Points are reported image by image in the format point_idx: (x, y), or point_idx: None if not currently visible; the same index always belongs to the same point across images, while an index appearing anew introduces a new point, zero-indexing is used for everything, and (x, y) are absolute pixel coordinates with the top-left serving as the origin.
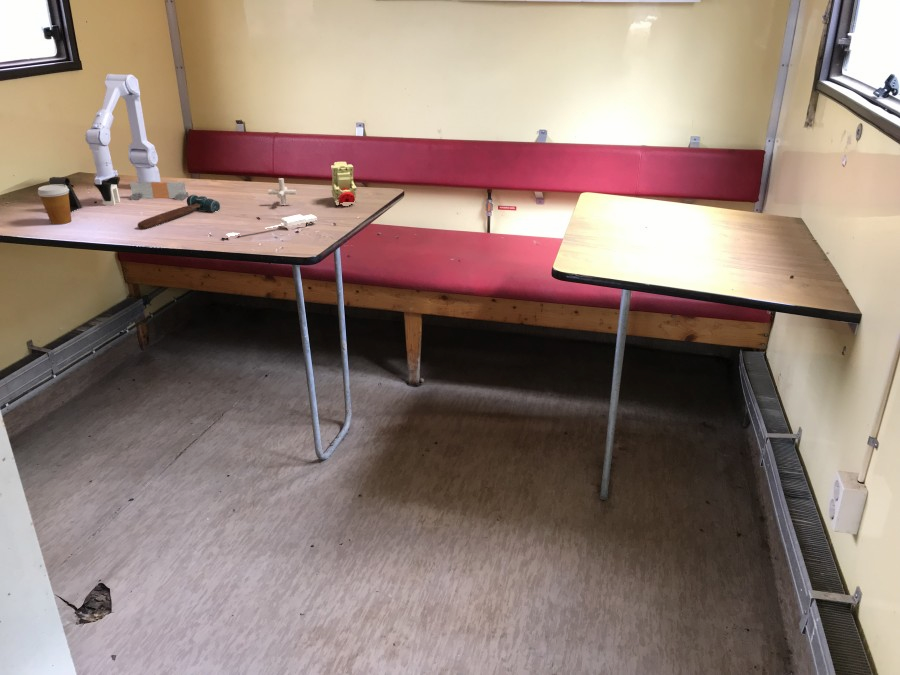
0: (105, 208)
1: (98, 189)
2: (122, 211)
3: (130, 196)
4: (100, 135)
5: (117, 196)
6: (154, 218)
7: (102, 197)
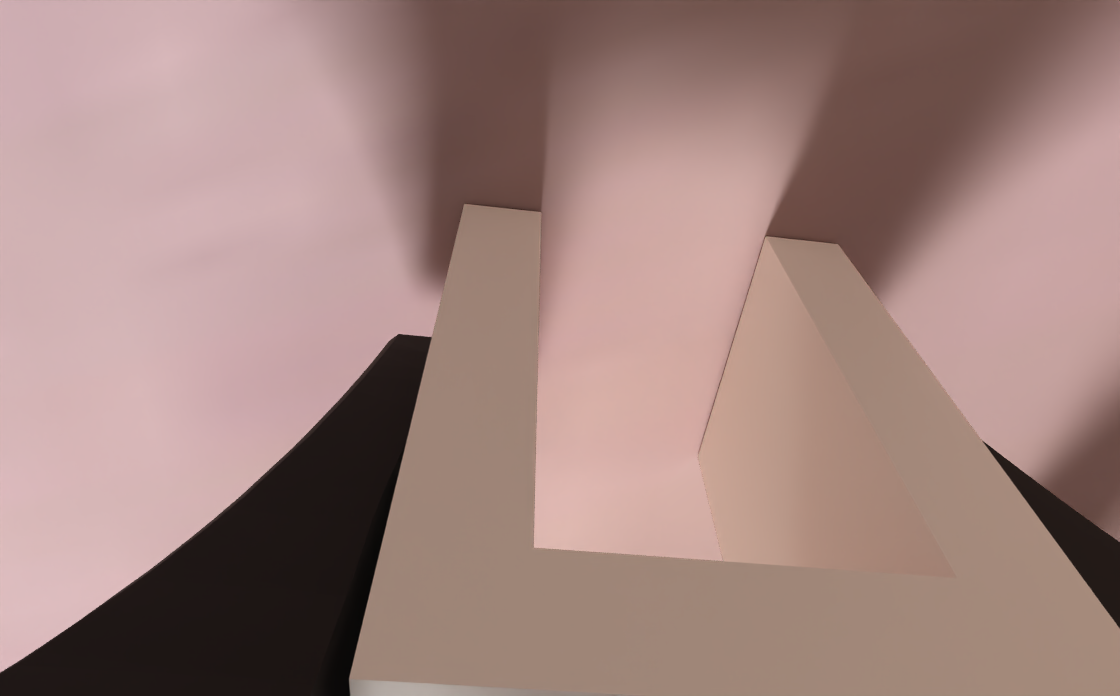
0: (144, 338)
1: (48, 648)
2: (26, 642)
3: None
4: None
5: (727, 558)
6: None
7: (436, 334)
